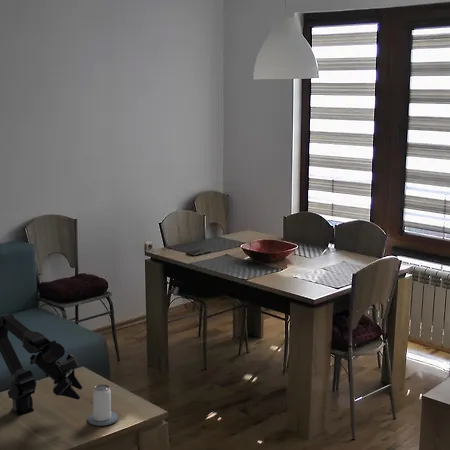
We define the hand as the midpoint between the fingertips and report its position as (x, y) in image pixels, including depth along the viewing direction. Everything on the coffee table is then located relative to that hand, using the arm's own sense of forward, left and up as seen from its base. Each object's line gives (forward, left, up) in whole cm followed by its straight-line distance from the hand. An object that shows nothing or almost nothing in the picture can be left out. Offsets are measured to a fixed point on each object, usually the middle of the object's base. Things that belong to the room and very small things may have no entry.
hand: (80, 393), depth 257 cm
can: (+6, -5, -10) cm, 13 cm away
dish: (+6, -5, -11) cm, 13 cm away
